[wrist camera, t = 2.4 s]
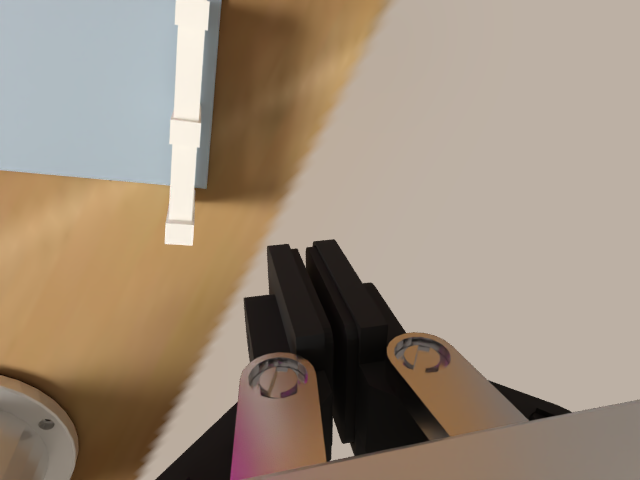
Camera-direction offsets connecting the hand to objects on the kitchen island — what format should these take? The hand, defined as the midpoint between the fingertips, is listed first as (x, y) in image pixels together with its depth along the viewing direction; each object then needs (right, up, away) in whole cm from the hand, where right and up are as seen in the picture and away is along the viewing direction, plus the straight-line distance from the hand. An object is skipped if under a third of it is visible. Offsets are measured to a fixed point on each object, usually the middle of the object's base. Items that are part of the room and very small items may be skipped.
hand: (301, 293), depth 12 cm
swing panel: (-6, +8, +11) cm, 15 cm away
